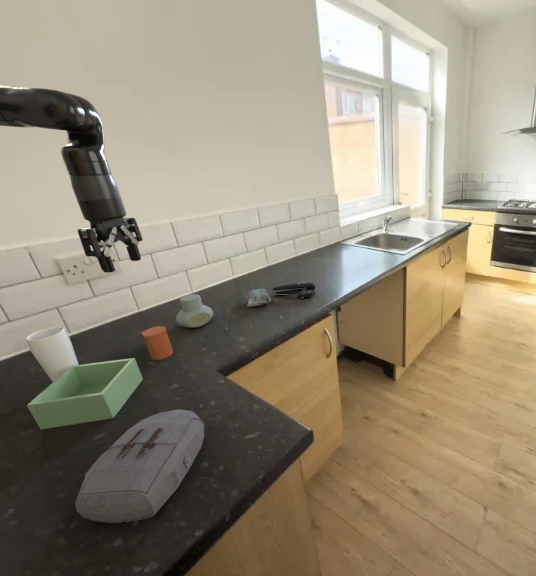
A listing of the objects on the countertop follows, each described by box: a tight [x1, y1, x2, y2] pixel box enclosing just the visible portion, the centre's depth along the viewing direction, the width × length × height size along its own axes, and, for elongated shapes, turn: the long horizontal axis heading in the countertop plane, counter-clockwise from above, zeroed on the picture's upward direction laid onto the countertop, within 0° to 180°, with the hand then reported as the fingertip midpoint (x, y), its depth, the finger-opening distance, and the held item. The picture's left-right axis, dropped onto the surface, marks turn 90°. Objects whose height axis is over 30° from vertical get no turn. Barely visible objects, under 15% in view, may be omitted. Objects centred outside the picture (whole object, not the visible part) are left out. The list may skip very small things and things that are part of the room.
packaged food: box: [243, 288, 272, 308], centre depth 123 cm, size 9×12×5 cm
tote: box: [26, 357, 144, 430], centre depth 73 cm, size 14×14×7 cm
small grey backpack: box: [74, 409, 206, 524], centre depth 56 cm, size 15×8×20 cm
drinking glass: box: [25, 325, 80, 383], centre depth 78 cm, size 7×7×15 cm
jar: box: [141, 325, 174, 361], centre depth 91 cm, size 6×6×8 cm
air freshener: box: [175, 293, 214, 329], centre depth 107 cm, size 11×8×10 cm
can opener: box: [272, 281, 316, 298], centre depth 128 cm, size 18×7×6 cm, turn 84°
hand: (123, 266), depth 76 cm, fingers open, 8 cm apart
